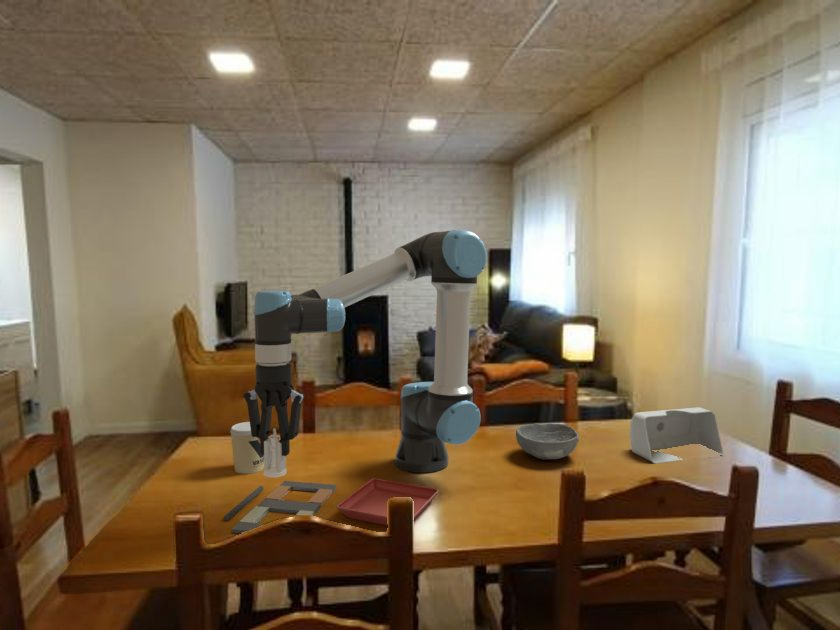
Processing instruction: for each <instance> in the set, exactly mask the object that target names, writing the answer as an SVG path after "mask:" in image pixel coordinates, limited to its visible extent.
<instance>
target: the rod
mask: <svg viewBox="0 0 840 630" xmlns="http://www.w3.org/2000/svg"><path fill="white" fill-rule="evenodd" d="M263 490H264V486H263V485H259V486H258V487H257V488H256V489H254V490H253V491H252V492H251V493H250V494H248V495H247V496H246V497H245V498H244V499H243V500H241V501H240V502H239V503H238V504H237V505H235V507H233V508H232V509H231V510H230V511H229V512H227V513H226V514H225V515H224V516H223V519H224V520H225V521H228V520H230V519H231V518H232V517H233V516H234V515H236V514H237V513H238V512H239V511H240V510H241V509H243V507H245V506H246V505H248V504H249V502H251V501H252V500H253V499H254V498H255V497H256V496H258V495H259V494H260V493H261V492H262V491H263Z"/></svg>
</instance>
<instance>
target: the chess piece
mask: <svg viewBox="0 0 840 630" xmlns="http://www.w3.org/2000/svg"><path fill="white" fill-rule="evenodd" d="M269 438H270V441H271V443H272V447H270V450H273V452H272V462H271V465H270V468H269V470H268V471H264V470H263V476H264V477H265V478H271V479H272V478H280V477H284V476H285V475H286V474H287V473H288V471H287V467H286V468H285V469H284V470H283V471H281V472H278V470H277V442H278V441H279V440H280V435H279V436H278V435H277V429H276V428H273V430H272V436H269Z"/></svg>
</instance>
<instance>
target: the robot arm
mask: <svg viewBox="0 0 840 630" xmlns="http://www.w3.org/2000/svg"><path fill="white" fill-rule="evenodd" d="M487 258H488V254H487V249H486V245H485V244H484V242H483V240H482V239H481V238H480V237H479V236H478V235H477V234H476V233H474V232H473V231H471V230H466V229H462V230H461V229H452V230H445V231H435V232H429V233H427V234H424V235H422V236H420V237H418V238H416V239H414V240H412V241H409V242H408V243H405V244H403V245H402V246H399V247H397V248H395V249H394V252H393V253H392V254H390V255H388V256H385V257H383V258H380V259H379V260H376V261H373V262H371V263H369V264H367V265H365V266H363V267H359V268H358V269H355V270H352V271H351V272H348V273H345V274H344V275H341V276H339V277H337V278H334V279H332V280H329V281H327V282H325V283H322V284H320V285H317V286H315V287H313V288H311V289H308V290H307V291H304V292H302V293H300V294H291V292H290V291H288V290H260V291H257V292H256V293H255V295H254V308H253V317H254V341H255V343H254V350H255V351H254V360H255V361H254V362H256V364H255V366H254V367H255V368H254V369H255V381H256V383H255V386H254V389H251V390H248V391H246V392H244V393H243V398H244V400H245V402H246V405H247V412H248V419H249V422H250V428H251V435H252V437H257V438H259V439H260V447H261V448H260V449H261V454H264V468H263V469H264V470H263V472H264V471H268V470H269V468H270V465H271V462H272V452H273V450H270V447H272V443H271V441H270V437H271V435H272V434H271V423H272V414H273V413H272V412H273V407H274V408H275V412H276V415H277V423H278V433H279V441H278V442H277V470H278V472H281V471H283V470H284V469H285V468H286V469H287V456H288V455H289V454H290V449H291V447H290V445H291V444H290V441H291V440H294V439H295V438H296V437H298V435H299V429H300V428H299V427H300V418H301V411H302V410H301V409H302V403H303V401H304V399H305V397H306V396H305V393H303V392H301V393H299V392H298V391H296V390H295V389H294V388H295V387H294V386H293V383H292V380H293V377H292V376H293V375H292V374H293V373H292V371H293V369H292V366H293V365H292V363H291V361H292V335H299V334H314V333H315V334H316V333H327V334H329V333H331V332H332V333H333V332H340V331H342V329H343V328H344V326H345V322H346V308H347V307H348V306H351V305H354V304H355V303H358V302H359V301H362V300H364V299H366V298H368V297H370V296H373V295H376V294H377V293H379V292H382V291H383V290H386V289H388V288H391V287H393V286H395V285H397V284H399V283H402V282H403V281H407V282H412V281H415V280H417V279H420V278H424V277H430V278H431V279H430V281H431V283H430V284H431V285H432V286H433V287H434V288H435V289H436V307H435V308H436V311H435V312H436V314H435V315H436V317H435V339H434V342H435V343H434V375H433V381H420V382H411V383H407V384H405V385H403V386H402V387H401V392H400V403H401V404H400V411H401V413H400V417H401V421H400V424H401V425H400V427H401V428H400V429H401V430H400V431H401V432H400V433H401V437H400V440H399V442H398V446H397V448H396V452H395V456H394V457H395V458H394V461H395V463H394V464H395V466H396V467H397V468H399V469H401V470H403V471H407V472H412V473H431V472H433V473H434V472H438V471H441V470H444V469H445V468H447V467H448V466H449V463H450V462H449V458H450V457H449V452H448V450H447V447H446V444H447V443H448V444H450V445H453V446H455V445H456V446H458V445H462V444H463V445H464V444H465V443H467V442H469V441H470V440H471V439H472V438H473V436H474V435H476V433H477V432H478V430H479V427H480V425H481V421H482V420H481V419H482V418H481V417H482V416H481V412H480V408H479V407H478V406H477V405H476V404H475V403H474V402H473V398H474V397H473V395H474V394H473V392H474V389H473V388H472V387H471V386H470V385H469V384H468V374H469V373H468V370H469V349H470V348H469V344H470V342H469V341H470V320H471V319H470V316H471V315H470V314H471V293H472V292H471V291H472V290H474V288H475V287H476V286H477V284H478V276H479V275H480V274H481V273H482V272H483V271H484V269H485V268H486V265H487V261H488V260H487ZM258 398H259V399H260V402H261V404H260V408H259V402H258V401H259V400H258ZM290 398H291V399H290ZM289 399H290V401H291V402H292V404H291V408H290V416H289V417H288V400H289ZM260 410H261V416H260ZM445 443H446V444H445Z"/></svg>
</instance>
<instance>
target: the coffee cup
mask: <svg viewBox="0 0 840 630" xmlns="http://www.w3.org/2000/svg"><path fill="white" fill-rule="evenodd" d="M229 431H230V439H231V446H232V448H231V449H232V458H233V465H234V467H233V468H234V471H235V472H236V473H238V474H243V475H246V474H247V475H248V474H249V475H250V474H255V473H258V472H261V471H263V469H264V454H261V449H260V448H261V447H260V439H259V438H257V437H252V435H251V428H250V421H243V422H238V423H236V424H234V425H232V426H231V429H230V430H229Z"/></svg>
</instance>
